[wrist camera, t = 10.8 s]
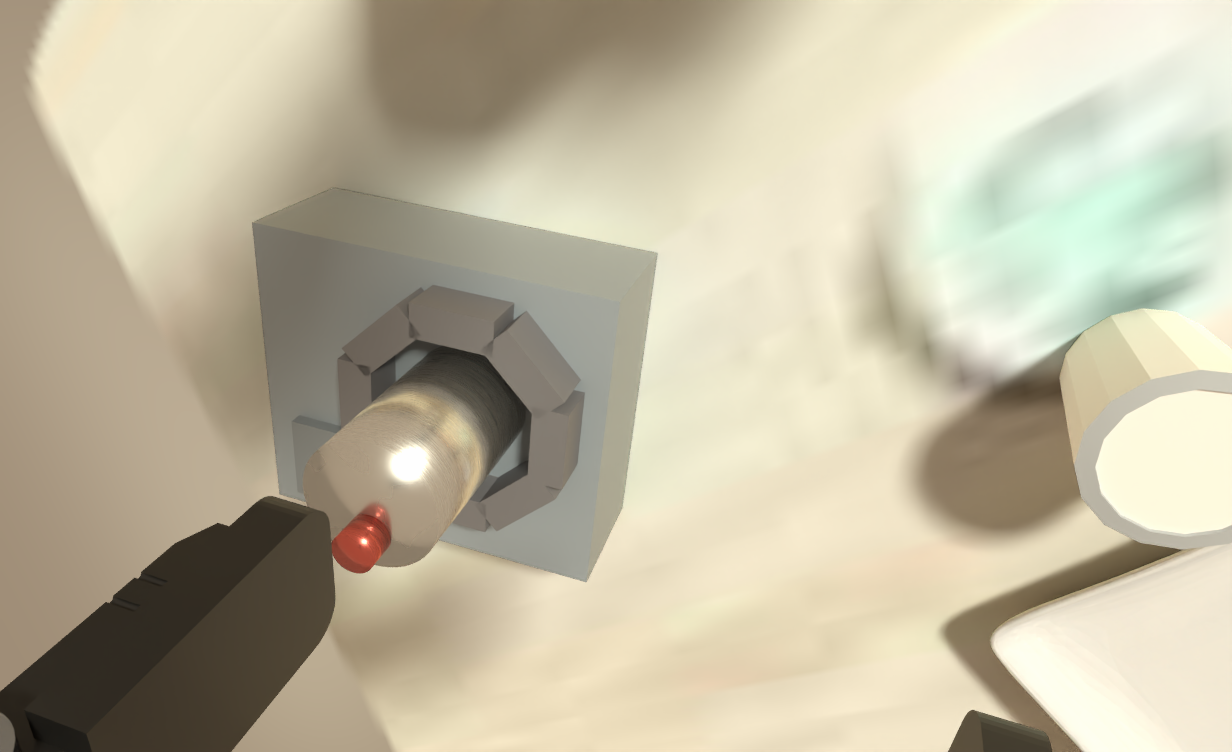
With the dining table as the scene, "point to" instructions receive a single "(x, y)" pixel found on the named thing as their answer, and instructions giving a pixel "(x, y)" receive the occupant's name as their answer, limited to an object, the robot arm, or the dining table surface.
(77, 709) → the robot arm
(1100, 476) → the cream short cylinder
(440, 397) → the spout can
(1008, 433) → the dining table surface
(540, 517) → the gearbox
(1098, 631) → the salad plate
